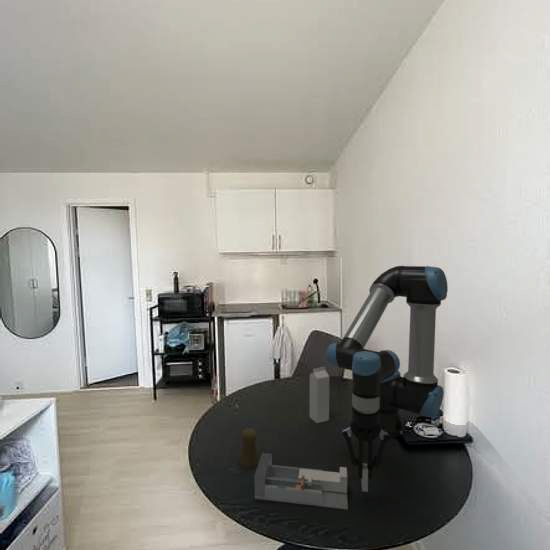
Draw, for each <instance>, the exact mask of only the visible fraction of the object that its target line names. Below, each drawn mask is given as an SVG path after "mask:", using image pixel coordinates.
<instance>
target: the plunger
mask: <svg viewBox="0 0 550 550" xmlns="http://www.w3.org/2000/svg"><path fill="white" fill-rule="evenodd" d="M308 469H309V468H308ZM308 469H300V470H299V477H298V480H301V478H302V475H305V481H308V486H311V485H312V482H322V490H323V491H332V492H341V493H347V494H348V470H347V467H346V466H345V467H344V466H339V472H336V471H326V470H323V471H318V470H319V469H318V470H308Z"/></svg>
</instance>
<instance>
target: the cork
mask: <svg viewBox="0 0 550 550" xmlns="http://www.w3.org/2000/svg"><path fill="white" fill-rule="evenodd" d="M257 435H258V433H257V431H256V430H255V429H253V428H245V429H243V430H242V432H241V435H240V439H241V441H242V446H241V455H240V456H241V457H240V461H239V462H240V463H239V464H240V466H241V467H242V468H245V469H253V468H255V467H257V466H258V464H259V458H258V451H257V443H256V441H257V438H258V437H257Z"/></svg>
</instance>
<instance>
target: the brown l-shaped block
mask: <svg viewBox="0 0 550 550" xmlns="http://www.w3.org/2000/svg"><path fill="white" fill-rule="evenodd" d="M296 488H301V489H305V475H302V478H301V485H298V484H296Z"/></svg>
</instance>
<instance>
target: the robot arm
mask: <svg viewBox="0 0 550 550" xmlns="http://www.w3.org/2000/svg"><path fill="white" fill-rule="evenodd" d="M448 289H449V288H448V279H447V277H446V274H445V272H444V270H443V269H442V268H440V267H436V266H429V265H428V266H422V265H421V266H418V265H415V266H414V265H413V266H411V265H398V266H397V265H396V266H393V267H391V268H389V269H387V270H386V271H384V272H383V273H381V274H380V275H379V276H378V277H377V278H375V280H374V281H373V282H372V284H371V285H370V288H369V294H368V296H367V297H366V299H365V301H364V303H363V304H362V306H361V307H360V309H359V310H358V313H357V314H356V316H355V317H354V319H353V321H352V323H351V324H350V326H349V328H348V329H347V331H346V333H345V334H344V336H343V338H342V339H341V341H340V342H333V343H331V344H330V345H328V347H327V350H326V356H325V357H326V360H327V362H328V364H329V365H331V366H333V367H336V368H338V369H343V370H349V371H352V372H351V373H352V374H351V377H352V378H351V379H352V381H351V382H352V383H351V385H352V390H351V391H352V392H351V393H352V394H351V397H352V398H351V406H352V408H351V422H350V424H349V427H347V428H346V427H343V428H342V436H343V437H344V440H346V445H347V448H348V451H349V452H348V453H349V456H350V460H351V465H352V466H355V467H357V477H358V479H361V491H362V492H366V493H368V491H369V480H372V479H373V470H374V468H379V467H380V463H381V460H382V457H383V452H384V449H385V447H386V443H387V442H388V441H389V440H390V439H393V438H397V437H400V436H399V432H400V431H402V430H403V428H404V429H405V424H404V421H403V417H402V415H401V412H400V410H402V411H403V410H404V411H406V412H410V413H413V414H415V415H419V416H422V417H427V418H430V419H431V418H435V416H437V414H438V413H439V410H440V409H441V406H442V404H443V399H444V392H445V391H444V388H443V386H441V385H439V384H438V383H439V379H438V378H437V376H436V375H435V374H434V371H435V370H434V369H435V367H434V366H435V347H436V346H435V345H436V342H435V341H436V320H437V319H436V316H437V315H436V314H437V309H438V308H439V307H440V306H441V305H442V301H444V300H446V299H447V297H448V292H449V291H448ZM398 297H403V298H404V297H405V301H406V304H407V305H408V306H409V308H410V309H409V310H410V313H409V337H408V339H409V340H408V341H409V342H408V345H409V346H408V365H407V367H408V368H407V371H406V372H405V373H404V374H403V376H401V372H400V370H399V369H400V366H401V362H400V358H399V356H398V355H397V354H396V353H395V351H392V350H390V349H383V350H380V351H376V350H371V349H366V348H365V347H366V345H367V343H368V341H369V340H370V338H371V336H372V335H373V332H374V330H375V329H376V327H377V326H378V324H379V322H380V320H381V317H382V316H383V315H384V313H385V311H386V309H387V307H388V305H389V304H390V303H392V302H393V301H395V298H398ZM352 434H353V435H354V437H355V438H356V439H357V458H356V454H355V450H354V449H355V448H354V445H353V441H352ZM377 437H379V438H378V439H379V440H378V443H377V447H376V450H375V454H374V457H373V453H374V452H373V449H374V447H373V446H374V441H375V440H376V438H377ZM364 442H367V443H366V457H367V458H366V463H365V462H364Z"/></svg>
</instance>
